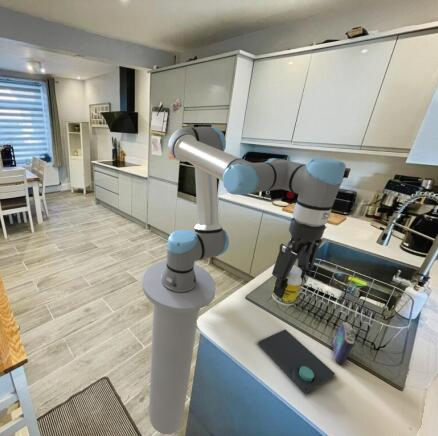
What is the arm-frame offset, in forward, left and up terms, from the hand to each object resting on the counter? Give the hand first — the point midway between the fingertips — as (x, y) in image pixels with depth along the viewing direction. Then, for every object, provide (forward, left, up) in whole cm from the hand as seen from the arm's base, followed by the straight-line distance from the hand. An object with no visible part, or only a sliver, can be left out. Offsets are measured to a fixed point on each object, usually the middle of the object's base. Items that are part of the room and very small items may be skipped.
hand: (286, 291), depth 71 cm
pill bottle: (0, 0, -3) cm, 3 cm away
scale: (+8, 0, -19) cm, 21 cm away
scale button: (+14, -3, -17) cm, 22 cm away
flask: (+12, +15, -20) cm, 28 cm away
